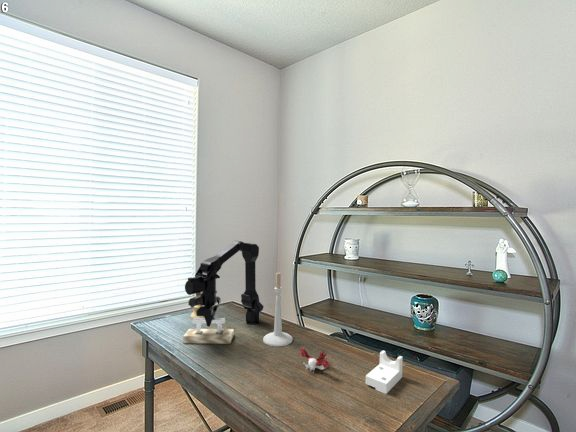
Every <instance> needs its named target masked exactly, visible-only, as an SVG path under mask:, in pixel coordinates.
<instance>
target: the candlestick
mask: <svg viewBox="0 0 576 432" xmlns="http://www.w3.org/2000/svg"><path fill="white" fill-rule="evenodd" d="M281 275H282V273H281V272H276V273H275V287H274V288H273V289H274V290H275V291H274V292H275V305H274V306H275V308H274V325H273V332H269V333H267V334H265V336H263V339H262V342H263V343H264V344H266V345H267V346H269V347H270V346H271V347H278V348H279V347H285V346H288V345H290V344H292V342H293V340H294V339H293V336H291V335H290V334H289V333H287V332H284V331H283V327H282V326H283V325H282V321H283V320H282V304H281V301H282V300H281V293H282V289H283V287H281V282H282V281H281V278H282V277H281Z"/></svg>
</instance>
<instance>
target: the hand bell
mask: <svg viewBox="0 0 576 432" xmlns="http://www.w3.org/2000/svg"><path fill="white" fill-rule="evenodd" d="M201 293H202V292H199V293H195V297H196V296H199V295H201ZM200 307H201V306H200V304H199V305H196V306H194V307H193V310H192V312H191V314H190V315H189V317H190V318H191V319H193V318H204V316H196V311H197V310H198V309H199V308H200Z"/></svg>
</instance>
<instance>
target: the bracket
mask: <svg viewBox="0 0 576 432" xmlns="http://www.w3.org/2000/svg"><path fill="white" fill-rule="evenodd" d="M402 378H403V356H401V355H399V356H398V357H397V358H396V360H392V359H390V358H389V356H387V353H386V351H385V350H381V351H380V352H379V364H378V365H376V367H374V368H372V370H371V371H369V372H368V373H367V374H366V375H365V385H368V386H371V387H373V388H375V391H378V392H380V393H381V394H382V393H383V394H385V395H387V394H388V393H389V392H390V391H391V390H392V388H393V387H394V386H396V384H397V383H398V382H399V381H400V380H402Z"/></svg>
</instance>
